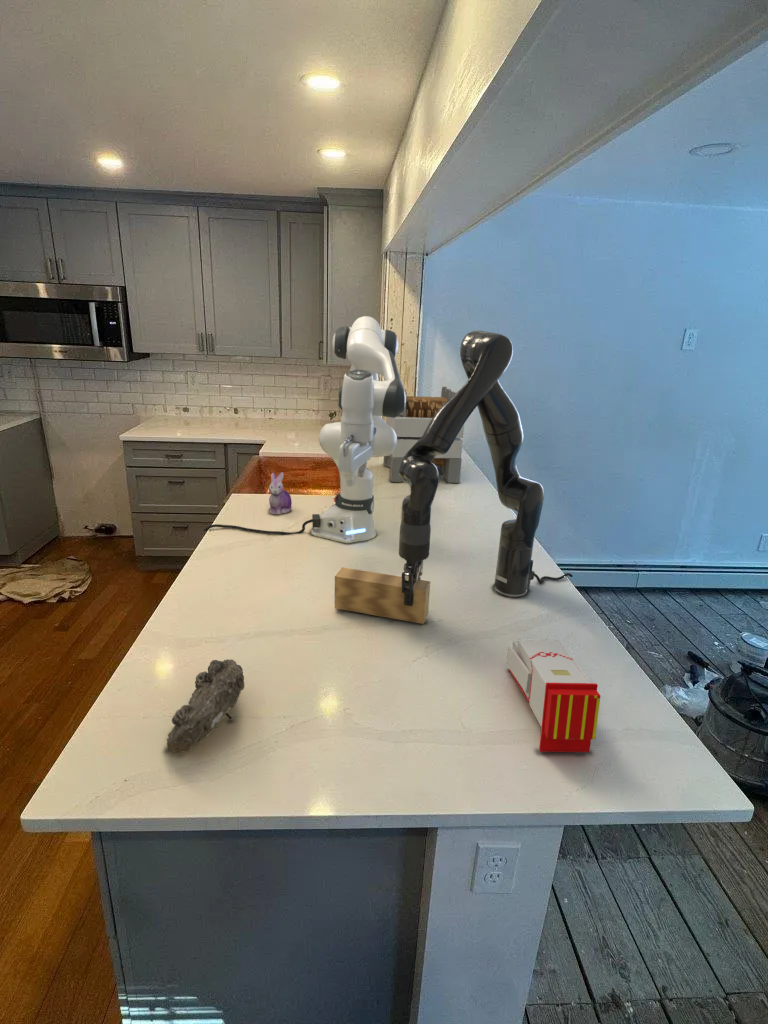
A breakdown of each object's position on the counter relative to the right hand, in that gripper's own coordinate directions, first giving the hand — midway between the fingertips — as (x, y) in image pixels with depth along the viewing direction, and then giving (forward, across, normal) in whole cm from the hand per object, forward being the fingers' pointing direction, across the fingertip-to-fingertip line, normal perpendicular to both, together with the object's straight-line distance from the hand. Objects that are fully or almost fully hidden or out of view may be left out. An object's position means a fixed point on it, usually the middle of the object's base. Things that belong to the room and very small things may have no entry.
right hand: (411, 599), depth 143 cm
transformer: (+7, +135, +28) cm, 138 cm away
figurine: (+6, +60, +66) cm, 90 cm away
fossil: (+5, -48, +27) cm, 56 cm away
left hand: (-23, +19, +22) cm, 37 cm away
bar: (+5, 0, +8) cm, 9 cm away
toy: (+6, -23, -34) cm, 41 cm away
